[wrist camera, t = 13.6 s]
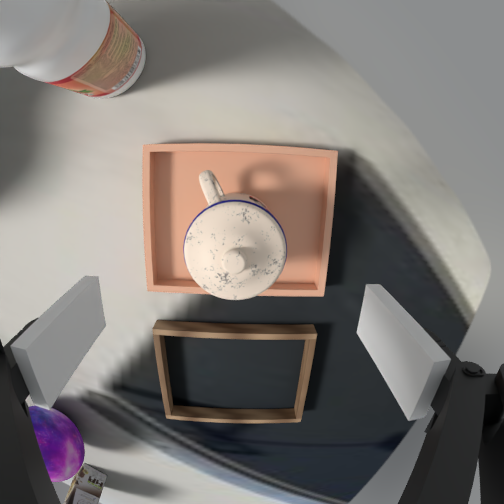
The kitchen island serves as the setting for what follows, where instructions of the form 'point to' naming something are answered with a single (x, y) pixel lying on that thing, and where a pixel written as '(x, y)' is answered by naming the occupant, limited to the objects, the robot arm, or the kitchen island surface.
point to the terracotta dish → (242, 181)
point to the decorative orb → (58, 442)
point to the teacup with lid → (233, 244)
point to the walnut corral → (234, 333)
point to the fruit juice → (71, 45)
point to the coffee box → (86, 486)
